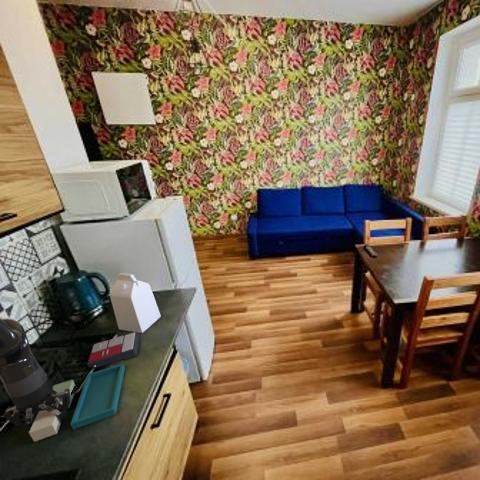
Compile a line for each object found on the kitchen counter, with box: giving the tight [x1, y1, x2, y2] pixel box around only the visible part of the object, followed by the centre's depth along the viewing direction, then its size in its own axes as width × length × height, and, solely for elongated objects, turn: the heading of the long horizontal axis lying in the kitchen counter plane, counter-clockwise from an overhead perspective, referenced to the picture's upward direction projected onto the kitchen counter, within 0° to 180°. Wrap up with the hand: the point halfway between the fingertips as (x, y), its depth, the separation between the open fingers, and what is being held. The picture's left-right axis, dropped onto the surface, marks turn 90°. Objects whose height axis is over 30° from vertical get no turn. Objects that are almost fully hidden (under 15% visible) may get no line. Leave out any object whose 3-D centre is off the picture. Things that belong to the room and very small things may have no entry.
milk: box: [109, 272, 162, 334], centre depth 119 cm, size 12×12×26 cm
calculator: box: [86, 332, 140, 370], centre depth 106 cm, size 11×4×15 cm
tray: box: [70, 363, 126, 430], centre depth 90 cm, size 11×20×2 cm, turn 27°
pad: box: [28, 402, 62, 443], centre depth 80 cm, size 5×8×4 cm, turn 27°
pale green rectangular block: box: [52, 379, 76, 409], centre depth 88 cm, size 5×8×4 cm, turn 27°
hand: (50, 424), depth 80 cm, fingers closed on pad, 5 cm apart
